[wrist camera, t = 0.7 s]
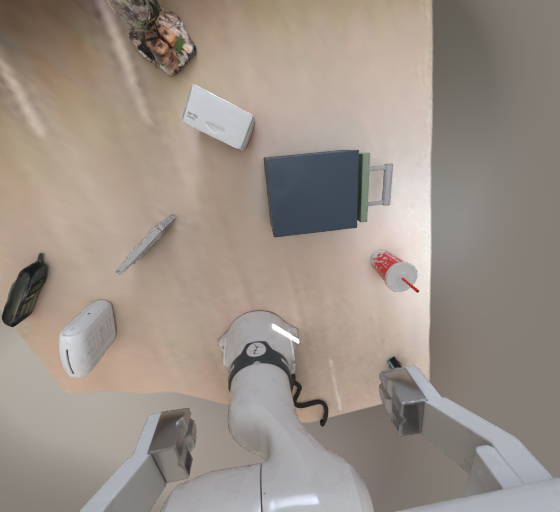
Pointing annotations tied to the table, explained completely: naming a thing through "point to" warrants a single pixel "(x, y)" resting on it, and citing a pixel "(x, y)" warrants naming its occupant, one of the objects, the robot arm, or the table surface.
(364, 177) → the drawer
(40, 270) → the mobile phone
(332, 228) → the cabinet
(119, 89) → the table surface
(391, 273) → the beverage cup
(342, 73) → the table surface
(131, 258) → the cassette
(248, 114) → the ink box
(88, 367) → the photo printer
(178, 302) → the table surface
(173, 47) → the plant with pod
